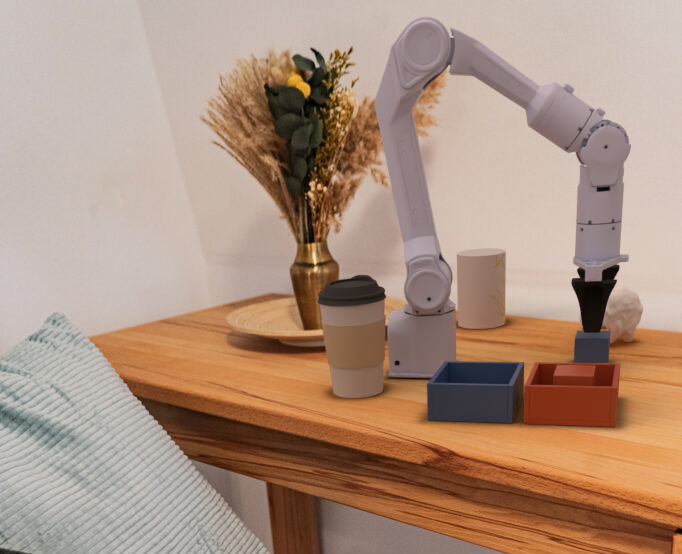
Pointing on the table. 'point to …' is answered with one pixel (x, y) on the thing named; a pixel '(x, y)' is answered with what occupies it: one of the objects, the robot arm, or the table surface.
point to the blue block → (592, 347)
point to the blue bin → (476, 391)
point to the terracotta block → (574, 375)
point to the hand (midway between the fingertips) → (593, 325)
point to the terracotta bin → (571, 397)
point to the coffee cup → (354, 335)
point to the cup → (481, 288)
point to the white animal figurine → (621, 314)
